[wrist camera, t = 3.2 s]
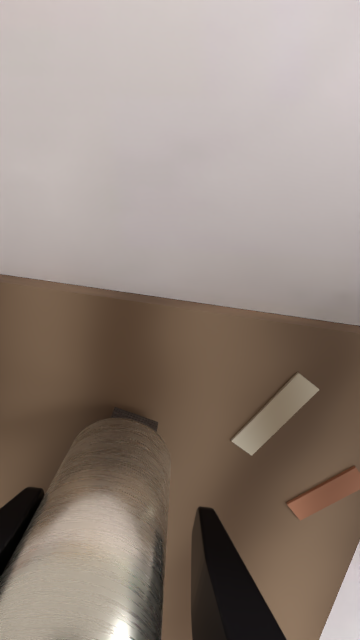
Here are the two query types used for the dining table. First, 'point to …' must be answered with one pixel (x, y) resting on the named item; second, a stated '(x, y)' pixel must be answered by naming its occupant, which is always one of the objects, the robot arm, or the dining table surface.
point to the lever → (95, 541)
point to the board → (199, 427)
